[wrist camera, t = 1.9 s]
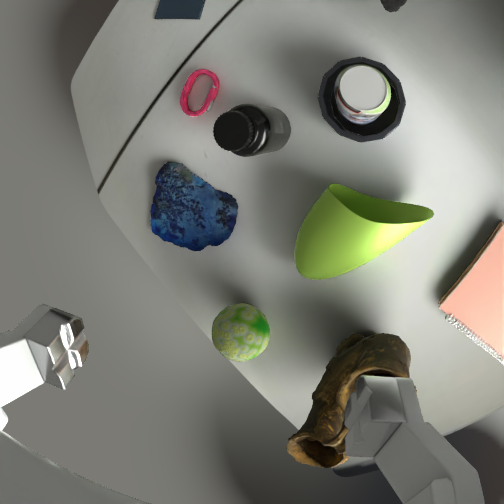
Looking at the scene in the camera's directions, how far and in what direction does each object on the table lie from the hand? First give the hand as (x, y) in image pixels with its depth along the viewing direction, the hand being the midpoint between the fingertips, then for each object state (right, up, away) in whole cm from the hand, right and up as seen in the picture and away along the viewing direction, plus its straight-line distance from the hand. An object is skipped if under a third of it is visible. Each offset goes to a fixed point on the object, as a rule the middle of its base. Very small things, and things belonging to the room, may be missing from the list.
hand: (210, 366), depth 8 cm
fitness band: (-7, +29, +39) cm, 49 cm away
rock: (-9, +10, +47) cm, 49 cm away
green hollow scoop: (+16, +7, +36) cm, 40 cm away
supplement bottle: (+4, +21, +37) cm, 42 cm away
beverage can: (+16, +23, +30) cm, 41 cm away
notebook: (+43, -6, +28) cm, 52 cm away
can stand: (+16, +23, +30) cm, 41 cm away
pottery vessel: (+20, -15, +43) cm, 50 cm away
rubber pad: (-11, +48, +33) cm, 59 cm away
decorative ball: (+1, -9, +50) cm, 51 cm away
